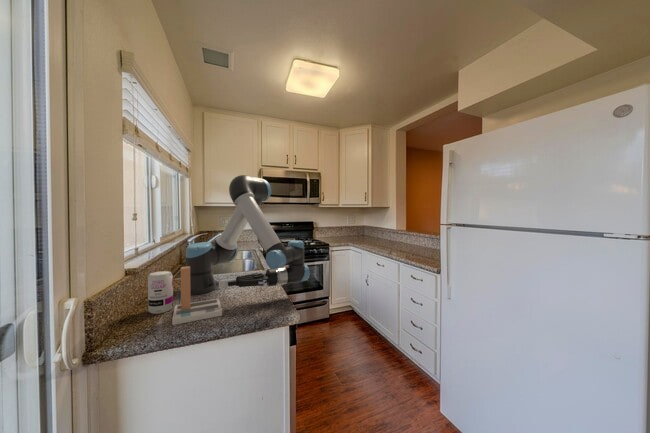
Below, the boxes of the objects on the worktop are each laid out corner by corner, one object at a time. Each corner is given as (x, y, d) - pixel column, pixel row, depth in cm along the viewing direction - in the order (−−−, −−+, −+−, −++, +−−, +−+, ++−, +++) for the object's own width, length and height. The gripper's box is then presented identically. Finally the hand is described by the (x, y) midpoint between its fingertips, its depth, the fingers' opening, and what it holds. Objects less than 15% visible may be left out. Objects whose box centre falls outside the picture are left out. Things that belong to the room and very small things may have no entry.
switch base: (175, 310, 95) (175, 302, 95) (218, 302, 102) (218, 296, 102) (172, 325, 82) (172, 316, 82) (222, 315, 90) (222, 307, 90)
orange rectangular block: (181, 307, 91) (181, 266, 91) (190, 306, 93) (190, 266, 92) (181, 311, 88) (180, 269, 88) (190, 310, 89) (190, 268, 89)
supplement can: (169, 304, 101) (168, 269, 100) (176, 309, 95) (175, 272, 95) (145, 310, 94) (145, 273, 94) (151, 316, 89) (151, 277, 89)
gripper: (280, 289, 101) (220, 298, 90) (272, 281, 112) (217, 288, 101) (280, 271, 101) (220, 279, 90) (272, 265, 112) (217, 271, 101)
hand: (218, 284), depth 95 cm, fingers closed
